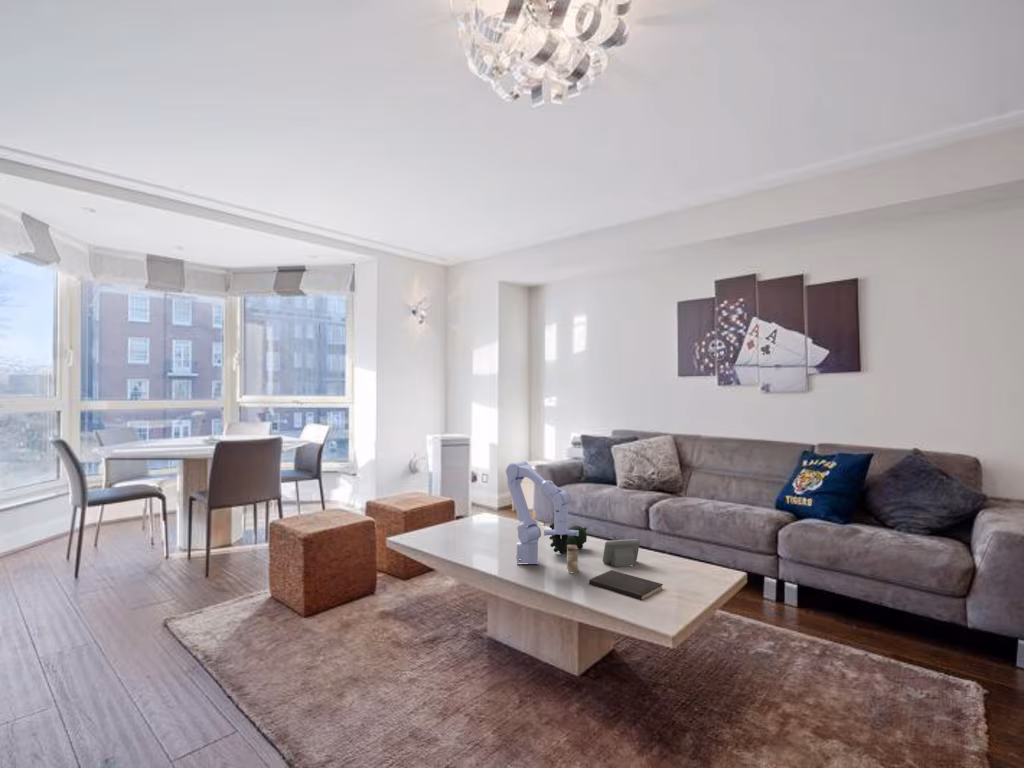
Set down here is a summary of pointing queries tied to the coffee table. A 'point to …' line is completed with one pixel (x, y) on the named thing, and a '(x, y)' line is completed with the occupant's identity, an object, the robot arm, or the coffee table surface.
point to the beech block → (572, 558)
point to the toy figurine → (570, 539)
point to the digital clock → (621, 552)
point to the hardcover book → (626, 584)
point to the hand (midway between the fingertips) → (561, 552)
